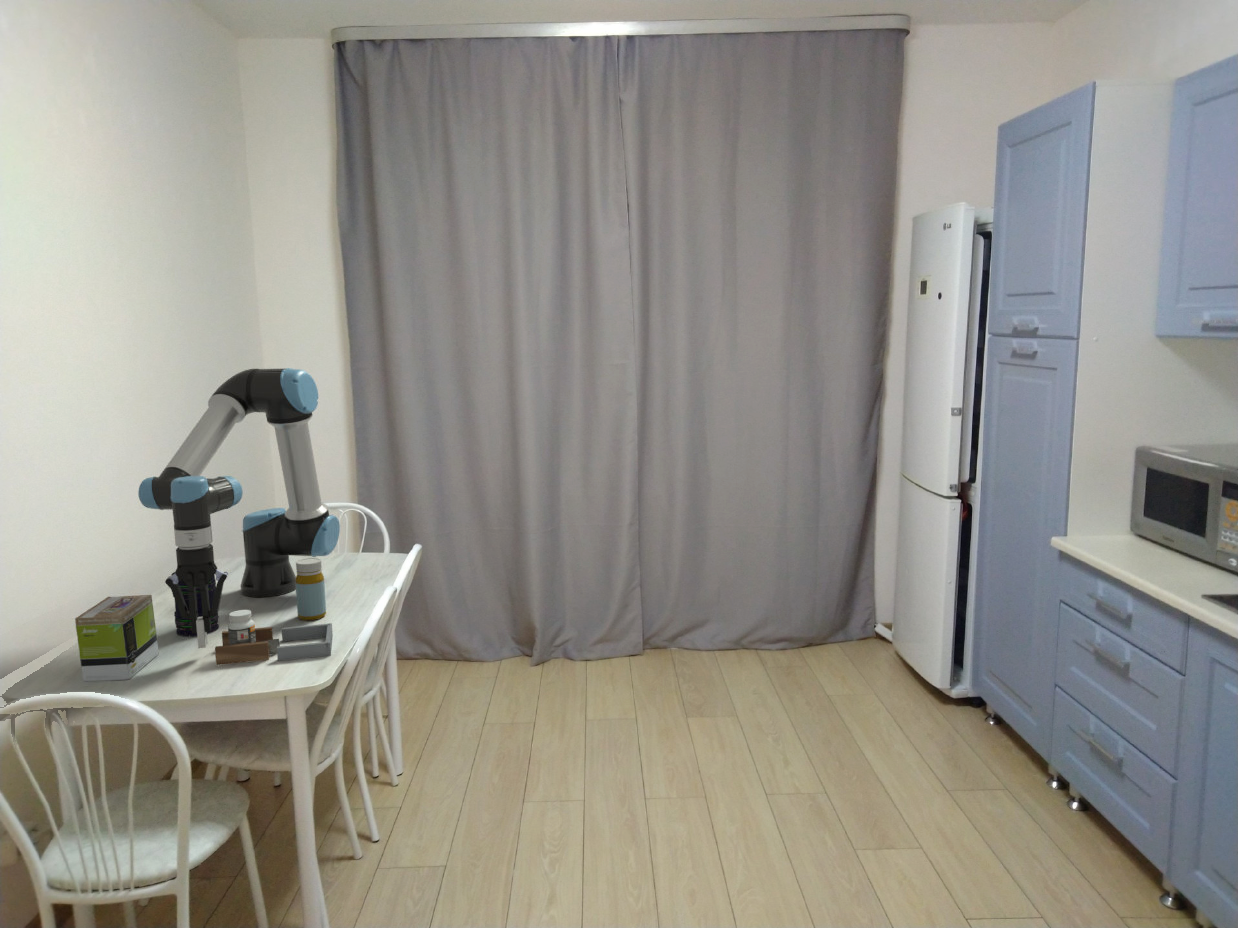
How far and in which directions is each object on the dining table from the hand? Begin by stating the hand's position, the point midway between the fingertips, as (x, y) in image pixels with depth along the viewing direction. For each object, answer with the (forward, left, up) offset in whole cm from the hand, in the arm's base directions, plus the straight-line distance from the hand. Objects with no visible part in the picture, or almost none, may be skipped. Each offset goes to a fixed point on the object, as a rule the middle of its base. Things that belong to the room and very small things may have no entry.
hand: (202, 645), depth 200 cm
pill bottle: (0, +8, -3) cm, 9 cm away
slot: (0, +9, -3) cm, 9 cm away
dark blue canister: (-21, -5, -3) cm, 22 cm away
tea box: (+1, -17, -3) cm, 17 cm away
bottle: (-23, +22, -3) cm, 32 cm away
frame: (0, +22, -3) cm, 22 cm away
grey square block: (0, +14, -3) cm, 15 cm away
